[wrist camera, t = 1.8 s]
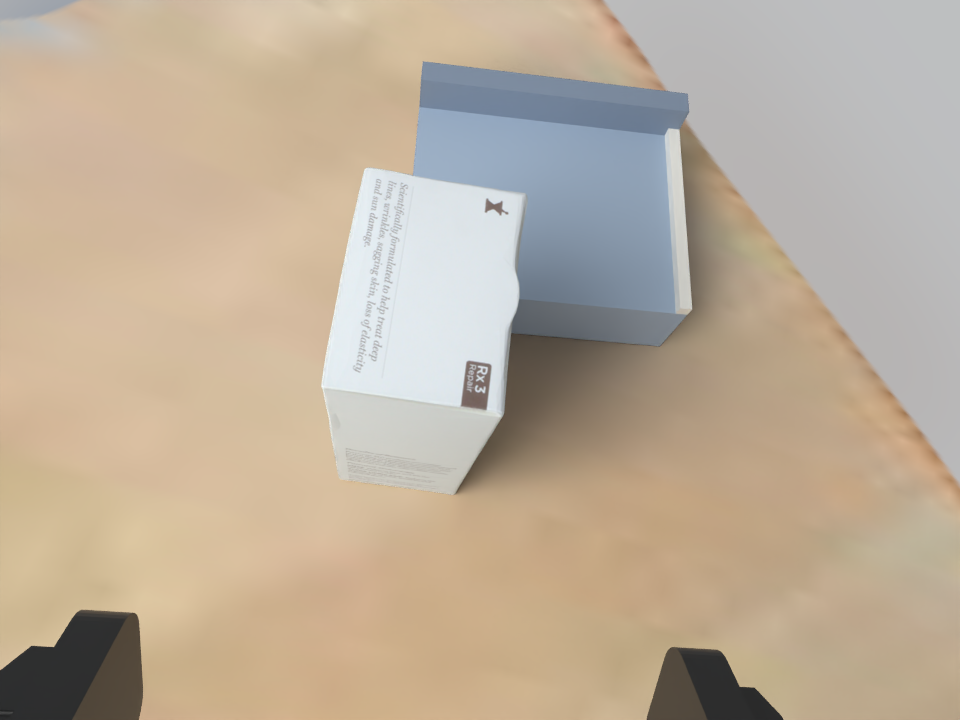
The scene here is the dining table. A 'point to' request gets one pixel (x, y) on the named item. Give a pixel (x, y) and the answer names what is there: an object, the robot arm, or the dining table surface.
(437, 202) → the skincare box
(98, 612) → the robot arm
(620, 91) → the tray
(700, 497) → the dining table surface
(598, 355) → the dining table surface
